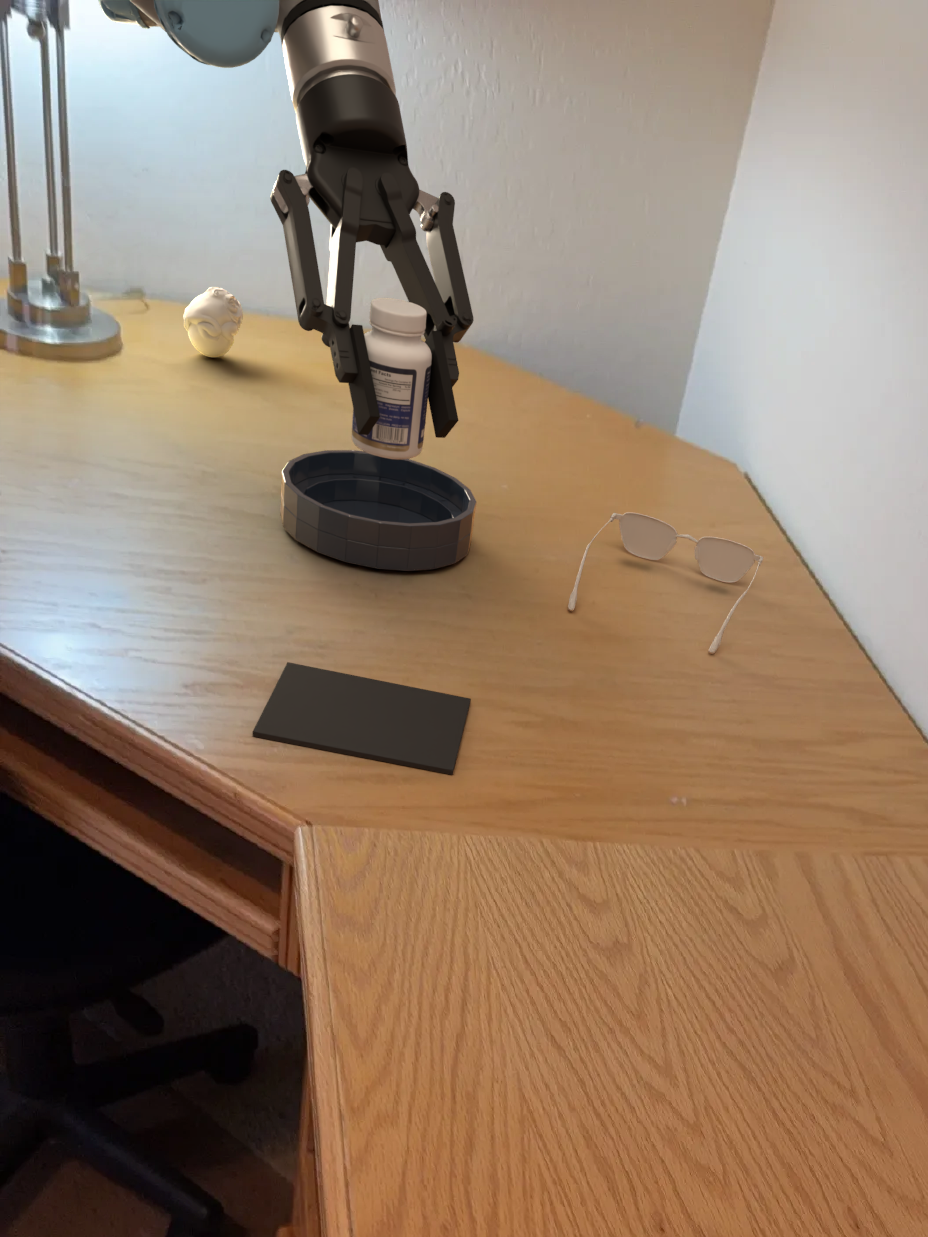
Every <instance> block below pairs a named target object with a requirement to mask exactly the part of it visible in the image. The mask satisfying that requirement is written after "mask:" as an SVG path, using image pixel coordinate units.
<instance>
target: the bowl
mask: <svg viewBox="0 0 928 1237" xmlns="http://www.w3.org/2000/svg"><path fill="white" fill-rule="evenodd" d="M280 482H281V483H280V484H281V485H280V490H281V491H280V512H279V513H280V515H279V516H280V519H281V523H282V528H283V529H284V530H285V531H286V532H287V533H288V534H289V535H290V536H291V537H292V538H293V539H294V540H295V541H297V542H298V543H300V544H302V545H304V546H305V547H307V548H309V549H311V550H313V551H314V552H316V553H318V554H321V555H323V556H326V557H330V558H332V559H335V560H338V561H341V562H344V563H347V564H348V563H349V564H353V565H358V566H362V567H367V568H372V569H377V570H378V569H379V570H390V571H403V572H404V571H405V572H406V571H407V572H413V571H427V570H428V571H429V570H436V569H439V568H443V567H447V566H451V565H455V564H457V563H458V562H459V561H461V560H462V559H463V558H465V557H466V556H468V554H469V552H470V548H471V545H472V540H473V530H474V523H475V515H476V508H477V500H476V498H475V495H474V494H473V492H472V490H471V489H470V488H469V487H468V486H467V485H465V483H463V482H462V481H460V480H459V479H458V478H456V477H454V476H452V475H450V474H449V473H446V472H445V471H442V470H441V469H439V468H436V467H434V466H431V465H428V464H425V463H422V462H419V461H416V460H413V459H411V458H410V459H388V458H383V457H379V456H375V455H372V454H369V453H367V452H365V451H363V450H357V449H336V450H335V449H333V450H332V449H330V450H328V449H327V450H325V449H324V450H320V451H315V452H309V453H308V452H307V453H303V454H301V455H299V456H297V457H295V458H292V459H290V460H288V461H287V462H286V464H285V466H284V467H283V469H282V470H281V481H280Z"/></svg>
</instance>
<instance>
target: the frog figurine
mask: <svg viewBox="0 0 928 1237" xmlns="http://www.w3.org/2000/svg"><path fill="white" fill-rule="evenodd" d="M182 318H183V328H184V330H186V331H187V335H188V339H189V341H190V343H191V345H192V346H193V347H194V349H195V350H196V351H197V352H198V353H200V354H201V355H203V356H205V357H208V358H220V357H223V356H224V355H225V354H227V353H228V352H229V351H230V349H231V348H232V346H234V343H235V339H234V336H237V335H238V334H239V330H240V328H241V326H242V324H243V319H244V311H243V307H242V304H241V302H240V301H239V300H238V299H237V298H236V297H235V296H234V295H233V294H232V293H230V292H229V291H228V290H226V289H224V288H222V287H219V286H209V287H208V289H206V290H205V292H203V293H201V294H199V295H197V296H196V297H195V298H193V300H192V301H191V302H190V303H189V304H188V306H186V308H184V313H183V315H182Z"/></svg>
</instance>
